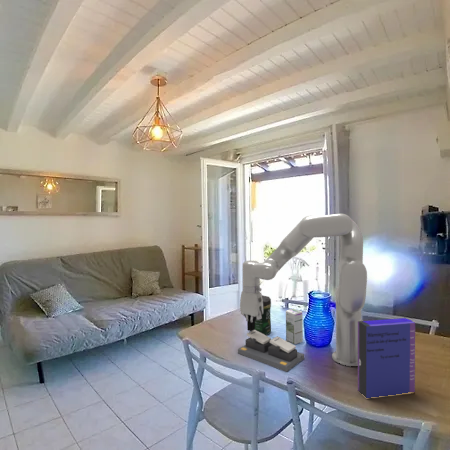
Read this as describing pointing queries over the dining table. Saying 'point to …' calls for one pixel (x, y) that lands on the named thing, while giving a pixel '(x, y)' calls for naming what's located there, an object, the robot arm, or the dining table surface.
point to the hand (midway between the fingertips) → (251, 329)
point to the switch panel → (270, 358)
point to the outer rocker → (259, 336)
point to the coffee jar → (264, 318)
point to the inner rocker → (282, 344)
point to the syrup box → (294, 326)
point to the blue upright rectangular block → (386, 357)
